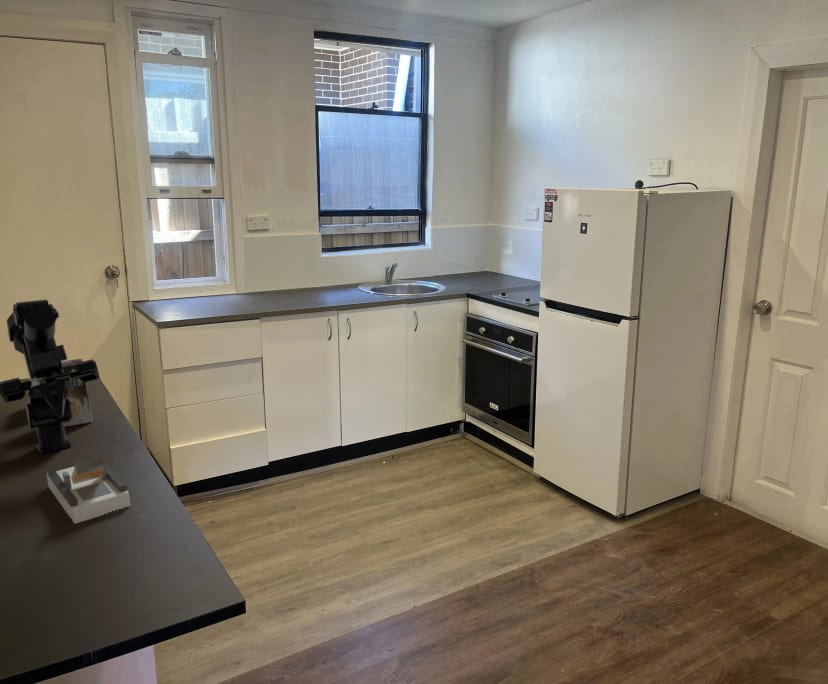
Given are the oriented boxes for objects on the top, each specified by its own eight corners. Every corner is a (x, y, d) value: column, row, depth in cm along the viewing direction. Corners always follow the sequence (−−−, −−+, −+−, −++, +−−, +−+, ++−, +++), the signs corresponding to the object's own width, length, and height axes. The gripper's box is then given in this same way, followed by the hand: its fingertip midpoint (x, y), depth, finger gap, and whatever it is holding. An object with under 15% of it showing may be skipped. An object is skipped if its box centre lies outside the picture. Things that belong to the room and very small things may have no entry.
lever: (70, 477, 129) (75, 462, 124) (98, 469, 133) (104, 454, 127) (72, 485, 129) (77, 471, 123) (101, 477, 132) (107, 463, 126)
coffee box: (91, 415, 178) (83, 357, 174) (92, 422, 173) (84, 363, 169) (53, 421, 174) (43, 362, 170) (53, 429, 168) (43, 369, 165)
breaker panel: (48, 487, 136) (44, 460, 135) (99, 473, 143) (96, 447, 141) (74, 523, 122) (70, 494, 120) (130, 506, 128) (126, 477, 126)
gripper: (-16, 347, 133) (2, 417, 128) (84, 324, 141) (104, 389, 137) (-3, 369, 142) (13, 434, 138) (90, 346, 151) (109, 408, 146)
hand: (60, 416), depth 139 cm, fingers closed
